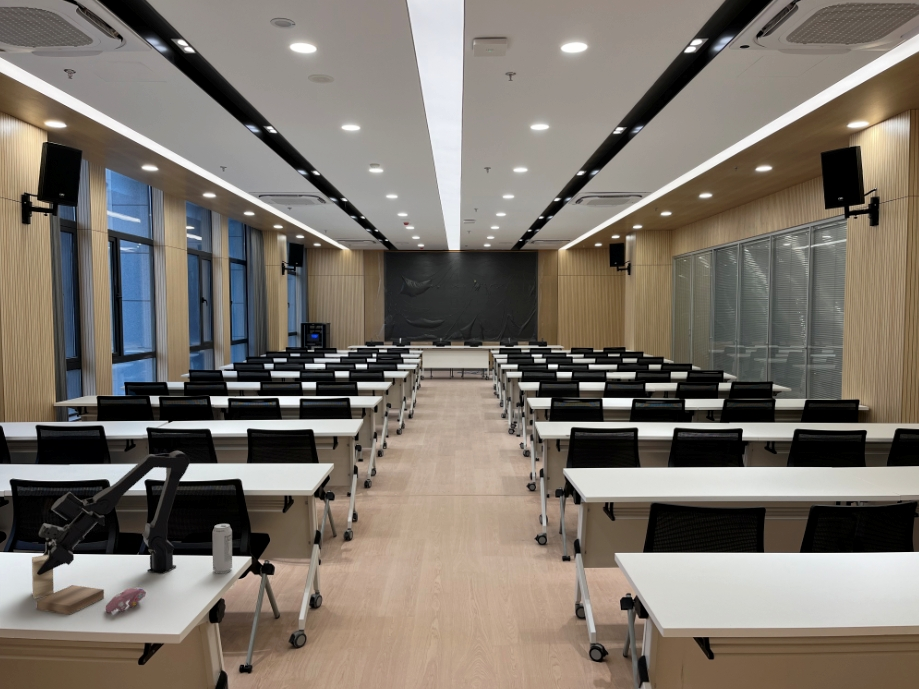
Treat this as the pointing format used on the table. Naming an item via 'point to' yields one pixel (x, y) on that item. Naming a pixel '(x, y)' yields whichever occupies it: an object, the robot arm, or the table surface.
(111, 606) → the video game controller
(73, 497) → the robot arm
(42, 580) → the birch block
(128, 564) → the table surface
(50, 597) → the walnut base block
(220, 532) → the energy drink can
